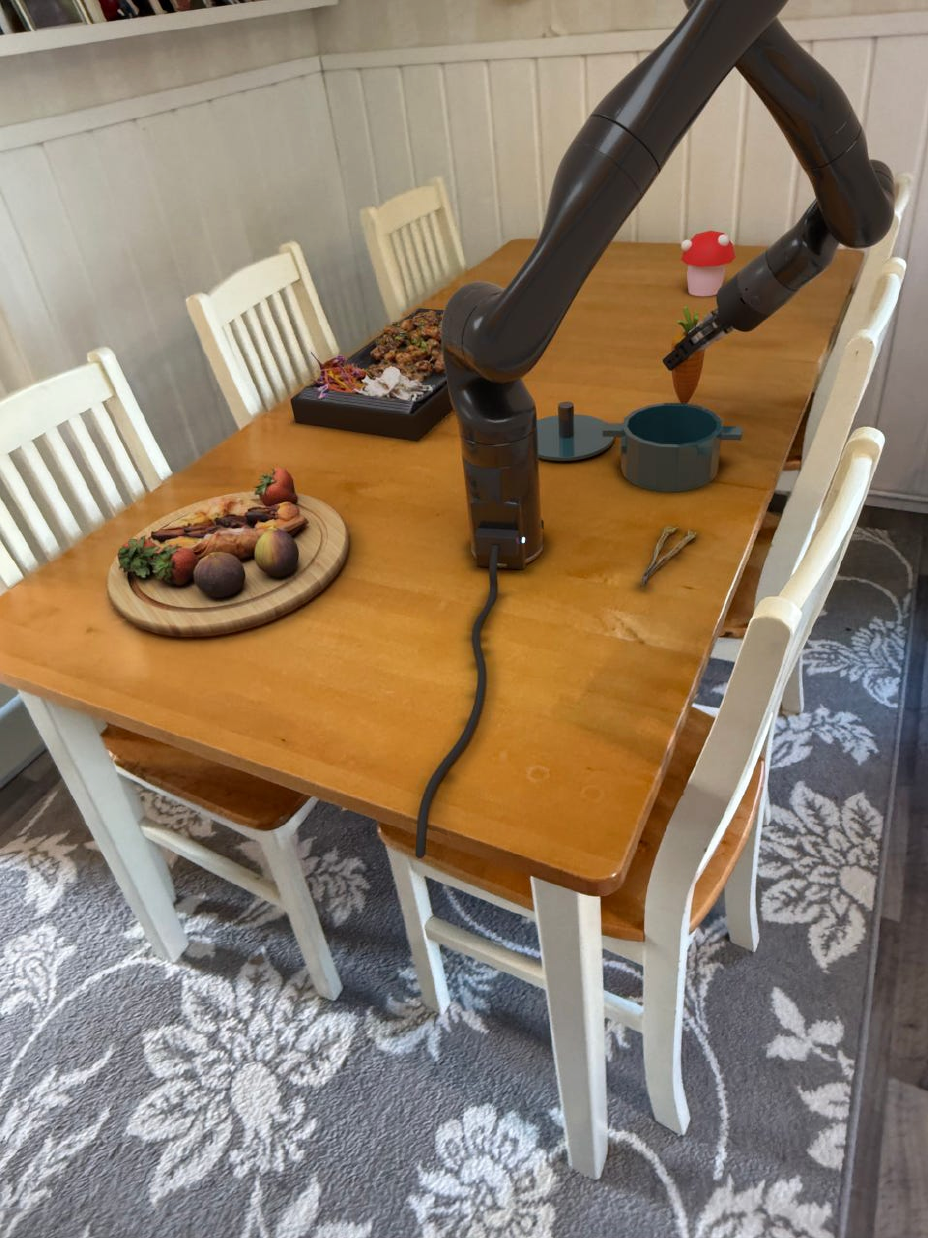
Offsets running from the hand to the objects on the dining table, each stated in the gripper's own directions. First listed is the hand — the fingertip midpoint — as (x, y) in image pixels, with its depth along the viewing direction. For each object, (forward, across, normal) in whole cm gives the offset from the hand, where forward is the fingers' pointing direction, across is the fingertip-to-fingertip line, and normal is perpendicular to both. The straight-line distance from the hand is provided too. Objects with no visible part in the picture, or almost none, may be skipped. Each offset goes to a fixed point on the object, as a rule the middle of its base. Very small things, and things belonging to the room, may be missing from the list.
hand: (676, 358), depth 131 cm
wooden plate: (+26, +68, -12) cm, 74 cm away
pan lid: (+13, +16, 0) cm, 21 cm away
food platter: (+40, +9, -27) cm, 49 cm away
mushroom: (+23, -55, -11) cm, 60 cm away
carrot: (+4, 0, +6) cm, 8 cm away
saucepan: (+1, +15, +12) cm, 20 cm away
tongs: (-7, +36, +21) cm, 42 cm away
